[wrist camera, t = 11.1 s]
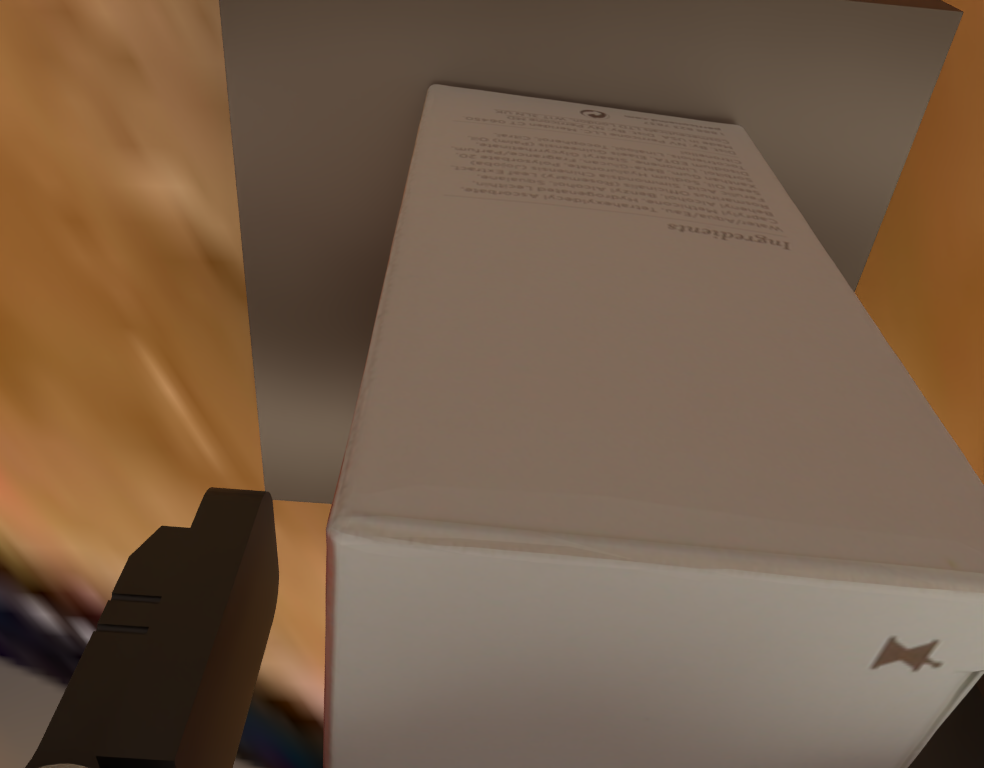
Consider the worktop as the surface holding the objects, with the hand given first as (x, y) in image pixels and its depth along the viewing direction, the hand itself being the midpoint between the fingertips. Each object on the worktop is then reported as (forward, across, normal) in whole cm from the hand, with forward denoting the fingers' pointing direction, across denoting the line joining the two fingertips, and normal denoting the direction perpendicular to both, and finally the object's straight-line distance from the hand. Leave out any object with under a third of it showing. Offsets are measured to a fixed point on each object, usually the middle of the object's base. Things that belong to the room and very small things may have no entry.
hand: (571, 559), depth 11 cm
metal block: (+11, 0, 0) cm, 11 cm away
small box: (+7, 0, 0) cm, 7 cm away
